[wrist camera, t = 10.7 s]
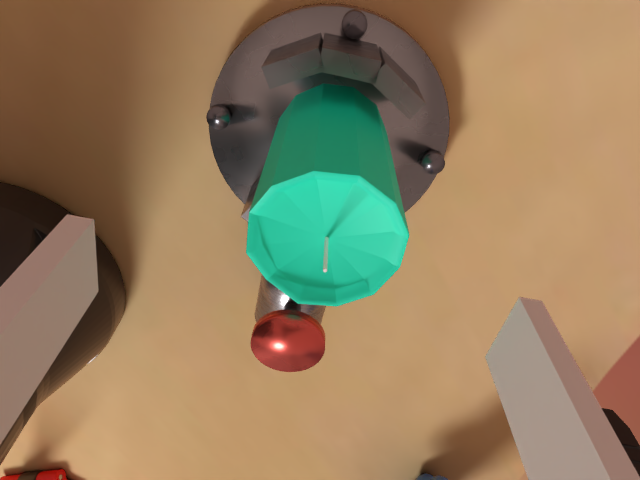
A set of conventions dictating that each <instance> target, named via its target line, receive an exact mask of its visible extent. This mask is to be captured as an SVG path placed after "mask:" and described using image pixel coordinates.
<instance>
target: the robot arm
mask: <svg viewBox="0 0 640 480" xmlns="http://www.w3.org/2000/svg"><path fill="white" fill-rule="evenodd" d="M124 308H125V288H124V283H123V279H122V276H121V273H120V271H119V269H118V266H117V264H116V262H115V261H114V259H113V257H112V255H111V254H110V252H109V251H108V249H107V248H106V247H105V245H104V244H103V243H102V242H101V241H100V239H99V238H98V237H97V236H96V235H95V224H94V219H90V218H84V217H79V216H74V215H72V214H71V213H69V212H68V211H67V210H65V209H64V208H62V207H60V206H59V205H57V204H55V203H54V202H52V201H50V200H48V199H46V198H44V197H42V196H40V195H38V194H36V193H33V192H31V191H28V190H25V189H23V188H20V187H17V186H13V185H10V184H6V183H1V182H0V465H1V463H2V462H3V460H4V459H5V457H6V455H7V454H8V452H9V451H10V449H11V447H12V446H13V444H14V443H15V441H16V439H17V438H18V436H19V435H20V433H21V431H22V429H23V428H24V426H25V425H26V423H27V422H28V420H29V418H30V417H31V415H32V414H33V412H34V411H35V409H36V408H37V406H38V405H39V404H40V403H41V402H43V401H44V400H45V399H46V398H48V397H49V396H50V395H51V394H52V393H54V392H55V391H56V390H57V389H59V388H60V387H61V386H62V385H63V384H65V383H66V382H67V381H68V380H69V379H71V378H72V377H73V376H74V375H75V374H76V373H78V372H79V371H80V370H81V369H82V368H83V367H84V366H86V365H87V364H88V363H89V362H91V361H92V360H93V359H94V358H96V357H97V356H98V355H99V354H100V353H101V351H102V350H103V349H104V348H105V347H106V345H107V344H108V342H109V340H110V339H111V337H112V335H113V333H114V332H115V330H116V328H117V326H118V324H119V323H120V321H121V318H122V316H123V312H124ZM485 358H486V360H487V363H488V366H489V369H490V372H491V375H492V377H493V380H494V383H495V386H496V389H497V392H498V394H499V397H500V400H501V403H502V406H503V409H504V411H505V414H506V417H507V420H508V423H509V426H510V429H511V431H512V434H513V437H514V440H515V443H516V446H517V448H518V451H519V454H520V457H521V460H522V463H523V465H524V468H525V471H526V474H527V476H528V480H640V445H639V444H638V442H637V440H636V439H635V437H634V435H633V434H632V432H631V430H630V428H629V427H628V426H627V425H626V424H625V423H624V422H623V421H622V420H621V419H620V418H619V417H618V415H617V414H616V413H615V412H614V411H613V410H610V409H604V408H601V407H600V405H599V403H598V401H597V399H596V398H595V396H594V394H593V392H592V390H591V389H590V387H589V385H588V383H587V381H586V380H585V378H584V376H583V374H582V372H581V371H580V369H579V367H578V365H577V363H576V362H575V360H574V358H573V356H572V354H571V353H570V351H569V349H568V347H567V345H566V344H565V342H564V340H563V338H562V336H561V335H560V333H559V331H558V329H557V327H556V326H555V324H554V322H553V320H552V318H551V317H550V315H549V313H548V311H547V309H546V308H545V306H544V304H543V302H542V301H539V300H534V299H528V298H523V297H519V298H518V300H517V302H516V303H515V305H514V307H513V309H512V310H511V312H510V314H509V316H508V317H507V319H506V321H505V323H504V324H503V326H502V328H501V330H500V331H499V333H498V335H497V337H496V339H495V340H494V342H493V344H492V346H491V347H490V349H489V351H488V353H487V354H486V356H485Z"/></svg>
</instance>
